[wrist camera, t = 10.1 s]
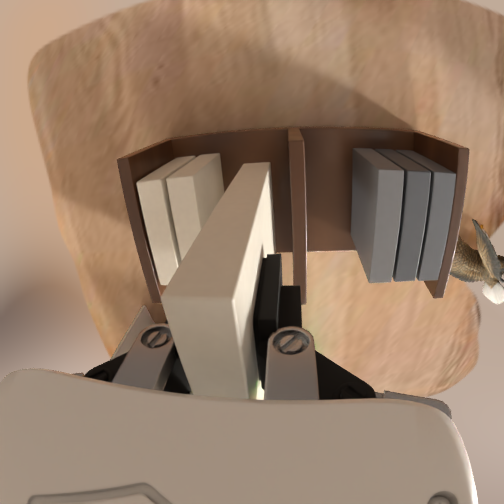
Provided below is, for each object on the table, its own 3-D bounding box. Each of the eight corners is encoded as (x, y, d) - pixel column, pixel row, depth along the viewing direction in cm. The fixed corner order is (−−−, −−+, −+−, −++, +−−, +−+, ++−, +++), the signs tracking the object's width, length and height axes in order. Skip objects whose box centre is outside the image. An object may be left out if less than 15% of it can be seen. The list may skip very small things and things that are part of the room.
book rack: (418, 130, 20) (469, 148, 13) (408, 244, 25) (443, 298, 18) (166, 138, 23) (116, 159, 16) (185, 249, 27) (152, 303, 20)
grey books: (412, 150, 20) (456, 173, 14) (405, 234, 23) (437, 280, 17) (352, 147, 21) (378, 169, 15) (350, 234, 24) (368, 283, 18)
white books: (220, 152, 22) (192, 175, 16) (230, 237, 25) (210, 286, 19) (176, 157, 22) (135, 182, 16) (189, 239, 26) (160, 285, 20)
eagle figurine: (521, 213, 20) (469, 191, 19) (543, 283, 17) (497, 276, 16) (474, 249, 27) (417, 238, 26) (488, 312, 24) (431, 312, 22)
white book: (270, 161, 17) (233, 298, 6) (276, 266, 21) (258, 452, 9) (243, 163, 18) (158, 297, 6) (253, 267, 21) (214, 448, 9)
